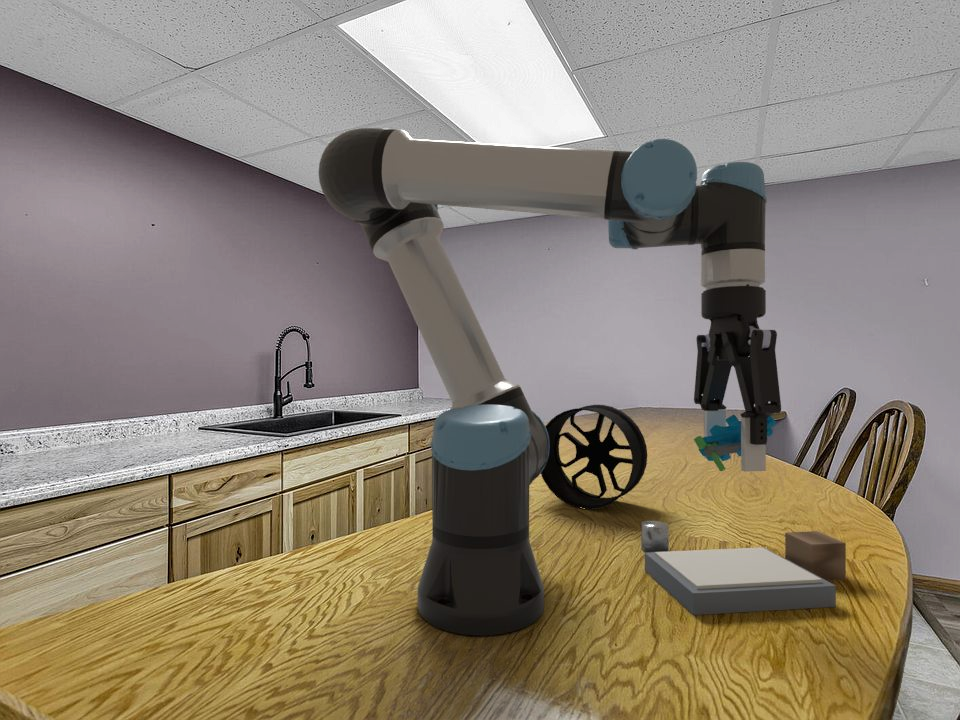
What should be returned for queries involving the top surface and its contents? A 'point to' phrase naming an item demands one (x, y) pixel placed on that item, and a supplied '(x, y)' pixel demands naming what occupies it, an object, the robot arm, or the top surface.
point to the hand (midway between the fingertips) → (733, 463)
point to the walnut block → (817, 554)
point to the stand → (737, 581)
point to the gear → (725, 441)
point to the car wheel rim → (593, 457)
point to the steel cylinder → (654, 536)
